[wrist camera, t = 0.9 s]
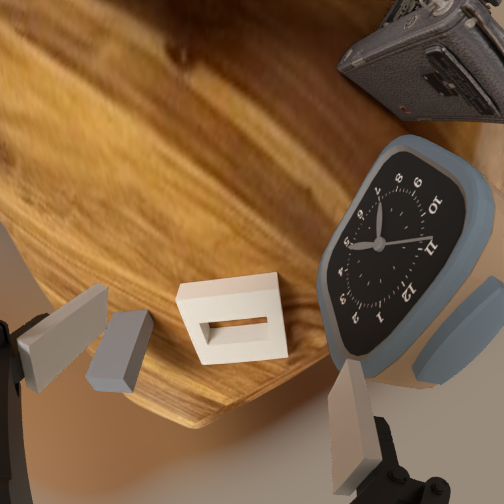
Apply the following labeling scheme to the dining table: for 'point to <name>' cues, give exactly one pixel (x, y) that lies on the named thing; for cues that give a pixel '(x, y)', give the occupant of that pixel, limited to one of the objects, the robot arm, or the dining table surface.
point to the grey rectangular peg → (121, 352)
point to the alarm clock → (415, 268)
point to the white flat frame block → (234, 318)
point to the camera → (433, 61)
